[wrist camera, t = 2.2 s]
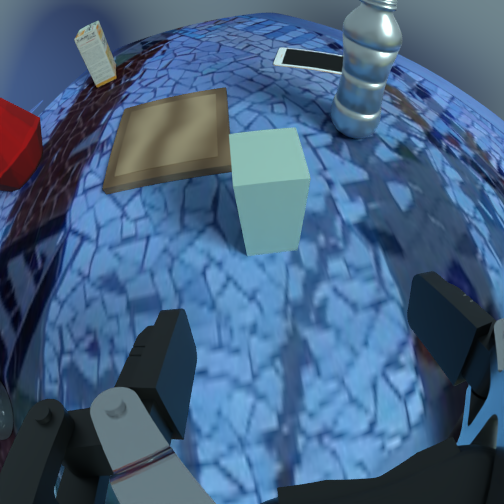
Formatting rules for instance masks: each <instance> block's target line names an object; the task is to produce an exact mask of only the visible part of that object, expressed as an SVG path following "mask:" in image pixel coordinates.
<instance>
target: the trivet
mask: <svg viewBox="0 0 504 504" xmlns="http://www.w3.org/2000/svg"><path fill="white" fill-rule="evenodd" d="M229 134H230V127H229V115H228V102H227V91H226V87H225V88H218V89H211V90H205V91H199V92H194V93H189V94H183V95H179V96H174V97H169V98H165V99H161V100H156V101H152V102H148V103H144V104H141V105H137V106H133V107H130V108H126V109H125V110H124V113H123V116H122V119H121V122H120V125H119V128H118V131H117V135H116V138H115V141H114V145H113V148H112V152H111V156H110V159H109V163H108V167H107V171H106V175H105V179H104V184H103V188H102V189H103V191H104V192H105V193H106V194H111V193H115V192H120V191H124V190H129V189H134V188H138V187H143V186H148V185H153V184H159V183H164V182H170V181H175V180H181V179H187V178H193V177H199V176H206V175H213V174H219V173H227V172H232V166H231V154H230V141H229Z"/></svg>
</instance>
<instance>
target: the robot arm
mask: <svg viewBox="0 0 504 504" xmlns="http://www.w3.org/2000/svg"><path fill="white" fill-rule="evenodd" d="M407 317H408V322H409V325H410V327H411V329H412V330H413V331H414V333H415V334H416V335H417V336H418V338H419V339H420V340H421V342H422V343H423V344H424V346H425V347H426V348H427V350H428V351H429V352H430V354H431V355H432V356H433V358H434V359H435V360H436V362H437V363H438V364H439V366H440V367H441V369H442V370H443V371H444V373H445V374H446V376H447V377H448V378H449V380H450V381H451V383H452V384H453V386H455V385H457V384H459V383H462V382H464V381H467V382H468V384H469V386H468V388H467V392H466V401H465V410H464V417H463V424H462V430H461V435H460V438H459V440H458V443H457V444H456V442H455V440H454V439H453V437H451V438H449V439H447V440H445V441H443V442H440V443H438V444H436V445H434V446H432V447H429V448H427V449H425V450H422V451H420V452H418V453H416V454H415V455H413V456H412V457H410V458H409V459H407V460H406V461H404V462H403V463H401V464H400V465H398V466H397V467H395V468H393V469H392V470H390V471H388V472H387V473H385V474H383V475H382V476H380V477H377V478H369V479H351V480H324V481H319V482H313V483H307V484H301V485H294V486H287V487H278V488H277V490H278V497H277V498H274V499H271V500H268V501H265V502H263V503H261V504H504V319H500V320H498V321H496V320H495V319H493V318H492V317H491V316H490V315H489V314H488V313H487V312H486V311H485V310H484V309H482V308H481V307H480V306H479V305H478V304H477V303H476V302H473V301H472V299H471V298H470V297H469V296H466V294H465V293H464V292H463V291H461V290H460V289H459V288H458V287H456V286H454V285H452V284H450V283H448V282H447V281H445V280H444V279H443V278H442V277H441V276H439V275H438V274H437V273H435V272H433V271H431V272H426V273H421V274H417V275H415V276H414V277H413V280H412V286H411V293H410V299H409V306H408V312H407ZM196 363H197V352H196V346H195V343H194V339H193V336H192V333H191V329H190V326H189V322H188V319H187V315H186V312H185V310H184V309H172V310H162V311H160V313H159V315H158V318H157V320H156V322H155V324H154V326H147V327H146V328H145V329H144V330H143V331H142V332H141V333H140V334H139V335H138V337H137V339H136V341H135V343H134V345H133V348H132V349H131V352H130V354H129V357H128V358H127V360H126V362H125V365H124V367H123V369H122V371H121V374H120V376H119V378H118V380H117V383H116V385H115V387H114V388H111V389H108V390H106V391H104V392H102V393H101V394H99V395H98V396H97V397H96V398H95V399H94V401H93V403H92V405H91V408H86V409H79V410H72V411H67V410H66V409H65V408H64V406H63V405H62V404H61V403H60V402H59V401H57V400H55V399H45V400H42V401H40V402H38V403H36V404H35V405H34V406H33V407H32V408H31V409H30V410H29V412H28V414H27V416H26V418H25V419H24V421H23V423H22V426H21V428H20V430H19V432H18V434H17V436H16V438H15V440H14V442H13V445H12V447H11V449H10V451H9V454H8V456H7V458H6V461H5V463H4V465H3V468H2V470H1V473H0V504H104V503H105V498H106V493H107V488H108V483H109V478H110V483H111V486H112V488H113V490H114V492H115V494H116V496H117V498H118V500H119V502H120V504H216V503H215V502H214V501H213V500H212V498H211V497H210V496H209V495H208V494H207V493H206V492H205V490H204V489H203V488H202V487H201V486H200V484H199V483H198V482H197V481H196V480H195V478H194V477H193V476H192V475H191V473H190V472H189V471H188V469H187V468H186V467H185V466H184V464H183V463H182V462H181V460H180V459H179V458H178V456H177V455H176V453H175V452H174V451H173V449H172V448H171V447H170V444H171V439H182V440H184V434H185V428H186V422H187V416H188V409H189V403H190V397H191V392H192V386H193V380H194V374H195V369H196ZM12 429H13V413H12V407H11V403H10V400H9V397H8V394H7V392H6V390H5V388H4V386H3V384H2V383H1V381H0V440H4V439H7V438H8V437H10V435H11V433H12ZM61 464H62V465H63V466H64V467H65V469H64V472H63V476H62V479H61V482H60V486H59V489H58V493H57V496H56V498H55V495H54V486H55V483H56V480H57V477H58V473H59V470H60V467H61ZM110 475H112V476H110Z"/></svg>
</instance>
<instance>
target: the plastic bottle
mask: <svg viewBox="0 0 504 504" xmlns="http://www.w3.org/2000/svg"><path fill="white" fill-rule="evenodd" d="M360 1H361V5H360V6H359V7H357V8H356V9H355V10H353V11H352V12H351V13H350V14H349V15H348V16H347V17H346V19H345V21H344V23H343V53H344V54H343V66H342V74H341V78H340V82H339V86H338V89H337V93H336V94H335V97H334V99H333V102H332V105H331V120H332V122H333V124H334V125H335V127H336V128H337V130H338V131H340V132H341V133H342V134H344V135H346V136H348V137H351V138H356V139H362V138H366V137H368V136H370V135H372V134H373V133H374V132H375V130H376V128H377V127H378V125H379V122H380V116H381V104H382V99H383V94H384V88H385V85H386V82H387V79H388V76H389V73H390V70H391V67H392V65H393V63H394V61H395V59H396V56H397V54H398V52H399V50H400V47H401V44H402V33H401V31H400V28H399V26H398V23H397V21H396V19H395V18H394V15H393V11H396V10H397V6H396V5H397V0H360Z"/></svg>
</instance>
